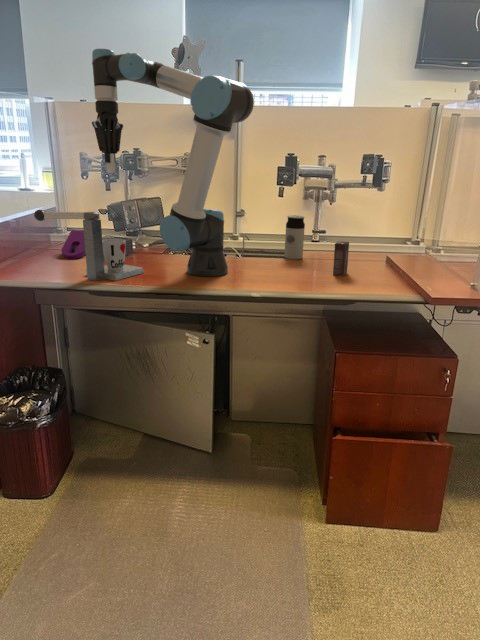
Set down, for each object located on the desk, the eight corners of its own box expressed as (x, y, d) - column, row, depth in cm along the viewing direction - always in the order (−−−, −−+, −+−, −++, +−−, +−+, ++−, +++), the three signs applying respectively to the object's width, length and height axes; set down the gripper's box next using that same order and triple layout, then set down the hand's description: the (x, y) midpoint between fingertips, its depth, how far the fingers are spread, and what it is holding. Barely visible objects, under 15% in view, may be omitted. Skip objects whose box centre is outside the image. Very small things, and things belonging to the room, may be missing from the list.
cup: (109, 272, 160) (107, 243, 156) (99, 267, 166) (97, 239, 162) (130, 269, 165) (129, 241, 161) (120, 265, 170) (119, 238, 167)
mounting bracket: (85, 272, 193) (97, 246, 205) (81, 256, 187) (93, 230, 200) (63, 271, 193) (76, 246, 206) (58, 255, 187) (71, 230, 200)
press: (143, 273, 168) (141, 217, 162) (107, 283, 153) (102, 222, 147) (115, 268, 175) (111, 214, 168) (77, 277, 160) (72, 218, 153)
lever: (100, 220, 155) (100, 209, 153) (98, 222, 150) (97, 211, 149) (37, 219, 152) (35, 208, 150) (32, 221, 147) (31, 210, 146)
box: (335, 271, 178) (338, 240, 174) (347, 273, 176) (350, 241, 172) (331, 275, 173) (334, 242, 169) (343, 276, 171) (346, 244, 167)
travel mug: (293, 255, 207) (295, 214, 202) (306, 258, 202) (309, 216, 196) (280, 257, 203) (282, 215, 197) (293, 260, 197) (296, 217, 191)
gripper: (112, 103, 166) (116, 172, 174) (84, 99, 156) (89, 172, 163) (127, 102, 163) (131, 172, 170) (100, 98, 152) (105, 173, 160)
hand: (110, 172), depth 167 cm, fingers closed
